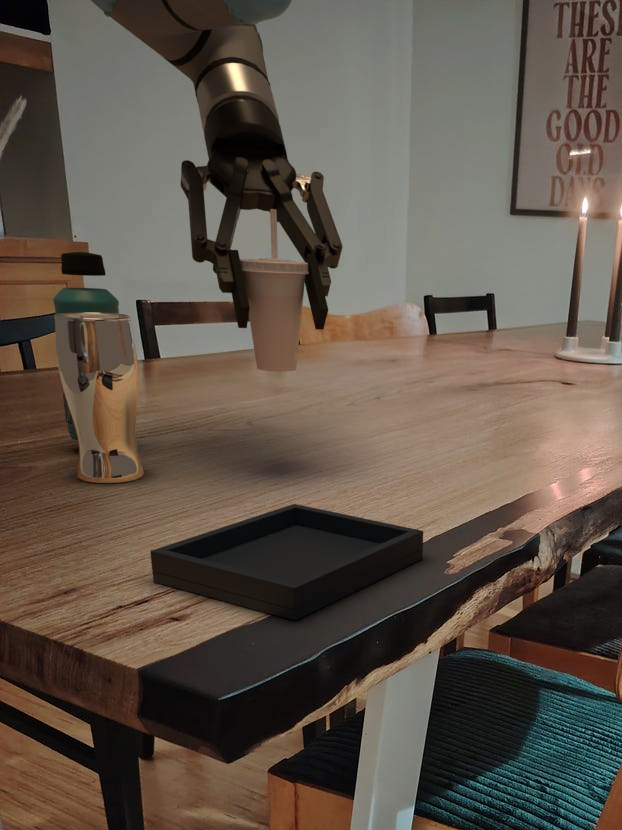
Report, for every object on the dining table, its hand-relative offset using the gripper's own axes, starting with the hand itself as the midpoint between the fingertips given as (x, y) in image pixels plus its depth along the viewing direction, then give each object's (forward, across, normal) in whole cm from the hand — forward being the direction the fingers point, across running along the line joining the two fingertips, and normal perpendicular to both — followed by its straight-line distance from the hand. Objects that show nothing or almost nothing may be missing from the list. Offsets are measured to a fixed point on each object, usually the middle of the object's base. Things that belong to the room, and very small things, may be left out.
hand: (283, 318), depth 84 cm
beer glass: (+6, +16, -17) cm, 24 cm away
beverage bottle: (-3, +16, -25) cm, 30 cm away
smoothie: (+1, 0, -6) cm, 6 cm away
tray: (+28, +5, +6) cm, 29 cm away
